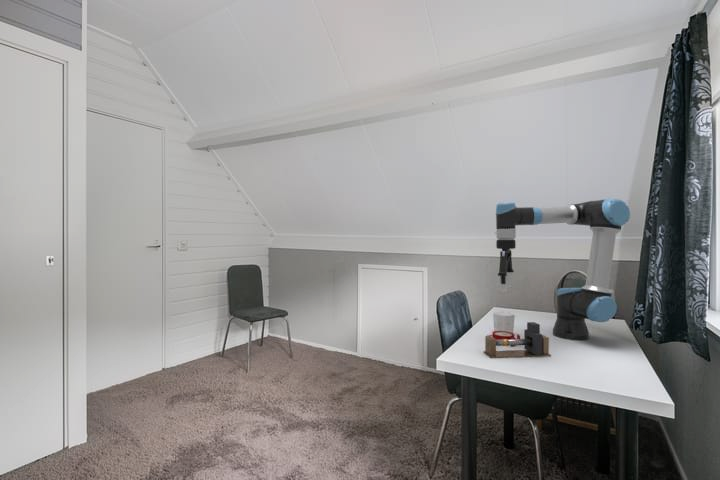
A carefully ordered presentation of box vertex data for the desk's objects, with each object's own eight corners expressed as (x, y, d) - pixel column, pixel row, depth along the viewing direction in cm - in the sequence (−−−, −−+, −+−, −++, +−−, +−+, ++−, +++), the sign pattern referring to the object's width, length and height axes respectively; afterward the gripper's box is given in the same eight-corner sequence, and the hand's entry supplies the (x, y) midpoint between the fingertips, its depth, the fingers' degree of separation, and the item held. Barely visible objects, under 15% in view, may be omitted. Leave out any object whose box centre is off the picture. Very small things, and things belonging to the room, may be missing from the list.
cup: (489, 333, 181) (489, 313, 181) (497, 329, 189) (497, 310, 189) (510, 337, 175) (510, 316, 175) (517, 333, 182) (517, 313, 182)
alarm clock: (494, 329, 176) (526, 328, 166) (497, 343, 175) (529, 342, 165) (484, 334, 168) (517, 332, 158) (487, 348, 167) (520, 347, 157)
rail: (540, 350, 155) (541, 333, 155) (551, 356, 148) (551, 338, 148) (483, 352, 152) (483, 335, 152) (490, 358, 145) (491, 340, 145)
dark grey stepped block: (531, 348, 155) (531, 321, 155) (542, 354, 147) (542, 325, 147) (524, 348, 155) (524, 321, 154) (535, 354, 147) (535, 325, 146)
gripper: (501, 238, 169) (501, 285, 169) (491, 240, 147) (491, 293, 148) (519, 238, 165) (519, 286, 166) (511, 240, 144) (511, 294, 144)
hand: (506, 289), depth 157 cm, fingers open, 13 cm apart
